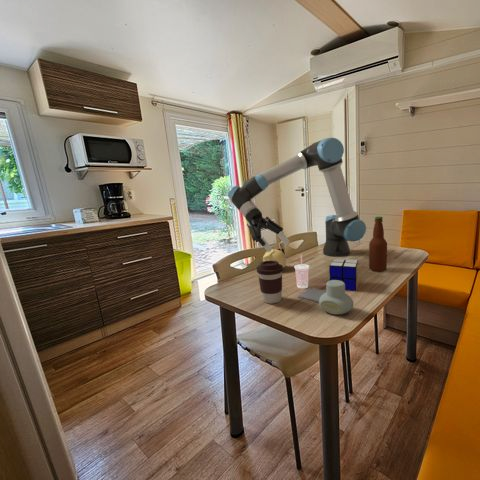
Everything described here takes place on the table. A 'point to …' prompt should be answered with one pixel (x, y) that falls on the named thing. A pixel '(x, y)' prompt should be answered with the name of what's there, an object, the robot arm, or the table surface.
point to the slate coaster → (312, 294)
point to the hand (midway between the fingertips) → (279, 247)
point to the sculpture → (275, 257)
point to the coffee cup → (270, 281)
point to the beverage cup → (302, 274)
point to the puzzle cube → (345, 272)
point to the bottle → (378, 248)
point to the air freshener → (336, 298)
